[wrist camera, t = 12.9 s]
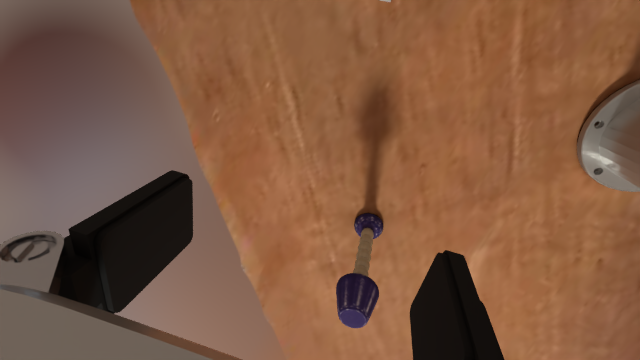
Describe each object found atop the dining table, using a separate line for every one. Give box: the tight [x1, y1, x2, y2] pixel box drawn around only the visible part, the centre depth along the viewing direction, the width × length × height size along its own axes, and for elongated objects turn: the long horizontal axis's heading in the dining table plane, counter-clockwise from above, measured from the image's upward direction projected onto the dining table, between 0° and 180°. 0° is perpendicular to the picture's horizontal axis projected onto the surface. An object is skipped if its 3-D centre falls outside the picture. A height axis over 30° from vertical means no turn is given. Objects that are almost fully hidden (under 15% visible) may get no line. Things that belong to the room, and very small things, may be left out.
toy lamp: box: [336, 213, 383, 328], centre depth 36 cm, size 5×5×17 cm
